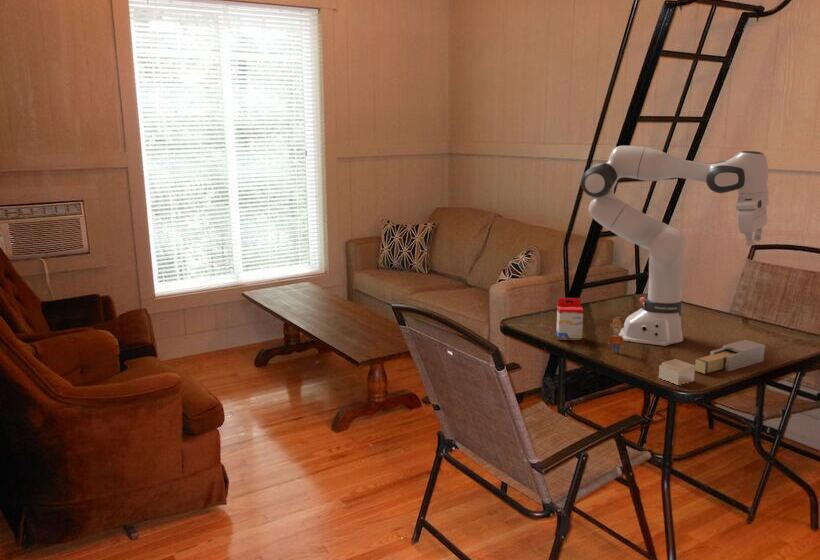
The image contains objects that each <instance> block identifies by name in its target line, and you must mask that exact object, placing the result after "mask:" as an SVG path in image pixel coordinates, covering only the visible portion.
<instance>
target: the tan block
mask: <svg viewBox="0 0 820 560" xmlns="http://www.w3.org/2000/svg"><path fill="white" fill-rule="evenodd" d="M736 353H738V352H735V351H732V350H728V351H724V352H721V353H717V354H713V355H710V354H709V355H706V356H703V357H699V358H695V363H694V365H695V372H699V373H702V374H704V375H706V374H709V373H712V372H716V371H719V370H723V369H725V366H726V356H729V355H732V354H736Z"/></svg>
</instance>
